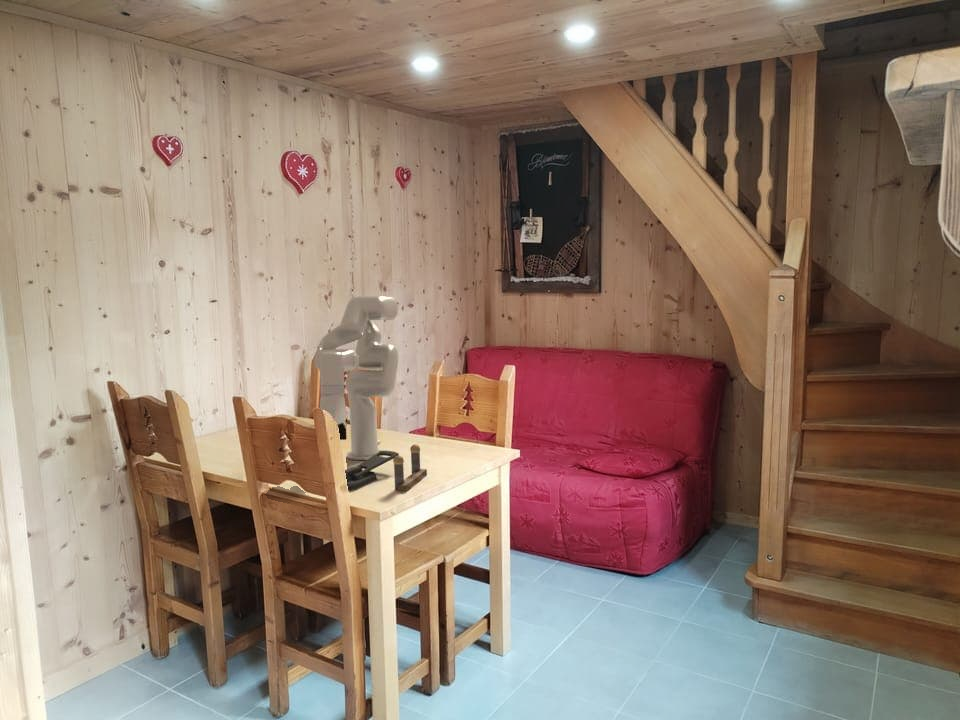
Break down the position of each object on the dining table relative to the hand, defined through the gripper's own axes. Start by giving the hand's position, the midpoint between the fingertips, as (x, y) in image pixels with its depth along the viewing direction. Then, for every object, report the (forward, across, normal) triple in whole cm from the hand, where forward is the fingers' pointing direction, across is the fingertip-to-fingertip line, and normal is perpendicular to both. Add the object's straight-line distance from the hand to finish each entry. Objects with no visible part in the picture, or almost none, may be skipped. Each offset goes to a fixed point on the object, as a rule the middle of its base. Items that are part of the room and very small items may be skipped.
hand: (334, 442), depth 216 cm
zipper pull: (+12, -2, +10) cm, 16 cm away
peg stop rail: (+12, -1, +25) cm, 28 cm away
